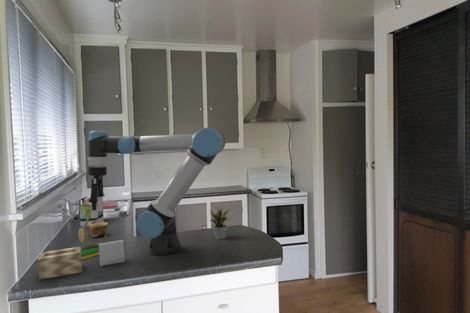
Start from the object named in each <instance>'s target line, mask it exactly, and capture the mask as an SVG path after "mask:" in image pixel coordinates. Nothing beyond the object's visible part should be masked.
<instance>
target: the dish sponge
mask: <svg viewBox="0 0 470 313" xmlns="http://www.w3.org/2000/svg"><path fill="white" fill-rule="evenodd" d="M96 256H100V255H99V248H96V247H91V248H87V249H84V250H81V259H82V261H83V260H85V259H90V258H93V257H96Z"/></svg>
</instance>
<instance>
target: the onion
mask: <svg viewBox="0 0 470 313" xmlns="http://www.w3.org/2000/svg"><path fill="white" fill-rule="evenodd" d="M100 222H104V221H93V222H92V223H91V224H94V223H100ZM103 227H105V229H106V230H107V231H108V224H107V225H105V226H103ZM94 228H96V227H89V233H90V234H91V231H92V230H93V229H94ZM99 230H101V231H100V233H98V232H97V231H98V229H96V230H94V231H93V235H98V236H96V237H103V236H105V231H104V229H103V228H100V229H99ZM96 237H95V238H96Z"/></svg>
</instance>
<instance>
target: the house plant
mask: <svg viewBox="0 0 470 313" xmlns="http://www.w3.org/2000/svg"><path fill="white" fill-rule="evenodd" d="M216 210H217V212H216V213H214V212H213V211H212V210H210V209H209V210H208V211H209V213H210V216H212V219H210V220H208V221H209V222H212V223H214V225H213V227H212V228H213V232H214V236H215V237H214V238H215V240H224V239H226V238H227V229H228V224H224V223H225V222H227V221H229V220H232V217H229V218H227V217H228V213H229V212H230V211H231V210H232V208H228V209H226V211H225V212H224V213H223V209H222V207H220V208H218V207H216ZM226 215H227V216H226ZM226 220H227V221H226Z"/></svg>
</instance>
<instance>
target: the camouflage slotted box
mask: <svg viewBox="0 0 470 313" xmlns="http://www.w3.org/2000/svg"><path fill="white" fill-rule="evenodd" d="M81 251H82V248H81V245H80V246H75V247H70V248H63V249H62V248H61V249H55V250H49V251H43V252H39V253H38V257H37V270H38V280H39V281H41V280H46V279H51V278H56V277H62V276H67V275H74V274H80V273H82V272H83V263H82V261H83V260H82V259H81Z"/></svg>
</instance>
